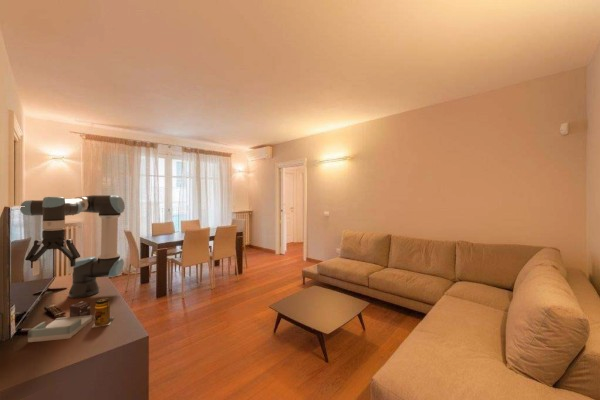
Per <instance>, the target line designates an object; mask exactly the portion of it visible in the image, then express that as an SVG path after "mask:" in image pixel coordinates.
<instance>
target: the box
mask: <svg viewBox="0 0 600 400" xmlns="http://www.w3.org/2000/svg"><path fill="white" fill-rule="evenodd" d="M90 315H91V302H90V301H79V302H77V303H76V302H75V303H74V304H70V305H69V317H77V316H90Z"/></svg>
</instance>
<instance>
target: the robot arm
mask: <svg viewBox="0 0 600 400" xmlns="http://www.w3.org/2000/svg"><path fill="white" fill-rule="evenodd" d="M20 206H25V207H21V208H20V207H19V209H20V212H21V214H22V215H24V216H42V231H41V232H42V233H41V234H42V235H41V236H42V237H41V238H42V239H35V240H34V241H33V246H32V247H31V249H30V250H29V251H28V254H27V255H26V257H25V261H30V269H32V277H34V276H35V277H36V276H38V275H40V265H41V264H40V260H39V259H40V257H42V256H43V255H44V254H45V252H46V251H48V250H58V251H61V253H62V254H64V255H65V257H66V258H67V259H68V260H67V275H71V274H72V283H71V286H70V289H69V292H68V298H70V299H80V298H87V297H90V296H94V295H96V294H98V293H99V292H100V286H99V283H98V281H97V278H111V277H117V276H119V275H120V274H121V272H122V270H123V268H124V263H125V262H124V259H123V258H121V255H120V254H119V253H118V234H119V233H118V225H119V224H118V221H119V217H121V216H122V215H121V214H122V213H124V211H125V207H126V206H125V201H124V199H123V198H122V196H120V195H110V194H109V195H105V194H104V195H103V194H102V195H95V194H94V195H93V194H92V195H85V196H77V197H74V198H65V197H63V196H45V197H43V199H42V200H41V199H40V200H32V199H31V200H24V201H22V202H21V204H20ZM80 213H93V214H98V216H99V218H100V219H101V222H100V223H101V225H100V226H101V230H100V232H101V233H100V234H101V237H100V255H99V256H98V257H97V256H89V257H84V258H81V254H80V252H79V251H78V249H77V248H76V245H75V244H74V242H73V240H74V239H72V238H70V239H65V237H66V230H65V228H66V216H76V215H78V214H80ZM41 245H43V246H41ZM40 247H41V248H40ZM39 249H40V250H39ZM79 258H80V259H79Z"/></svg>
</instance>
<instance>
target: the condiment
mask: <svg viewBox="0 0 600 400" xmlns="http://www.w3.org/2000/svg"><path fill="white" fill-rule="evenodd" d="M114 317H115V316H112V317H111V304H110V299H109V298H107V297H104V298H100V299H97V300H96V301H95V306H94V324H92V327H91V328H98V327H104V326H108V325H111V323H112V322H113V320H114Z"/></svg>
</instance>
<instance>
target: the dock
mask: <svg viewBox="0 0 600 400" xmlns="http://www.w3.org/2000/svg"><path fill="white" fill-rule="evenodd" d="M93 319H94V316H93V315H91V314H90V316H77V317H70V316H69V317H68V316H66V317H57V318H55V320H53V321H51V322H50V323H48V324H47V321H42V322H40V323H39V324H37V325H35V326H34V327H33V328H31V329H29V330H28V331H27V343H33V342H45V341H54V340H55V341H56V340H57V341H58V340H65V339H71V338H72V337H74V335H76V334H77V333H78V332H80V331H81V330H82V329H83V328H85V327H86V326H87V325H88V324H89V323H90V322H92V321H93Z"/></svg>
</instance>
